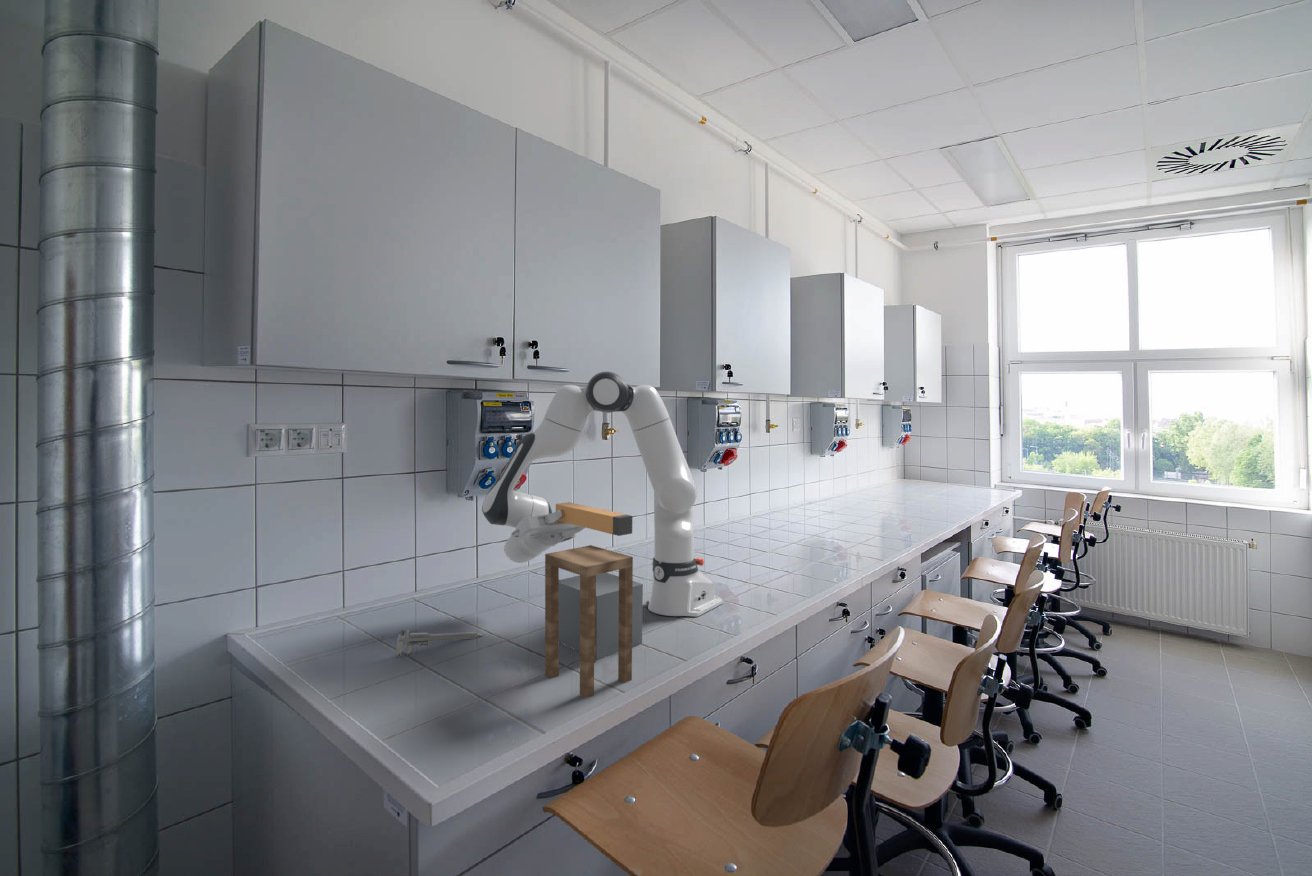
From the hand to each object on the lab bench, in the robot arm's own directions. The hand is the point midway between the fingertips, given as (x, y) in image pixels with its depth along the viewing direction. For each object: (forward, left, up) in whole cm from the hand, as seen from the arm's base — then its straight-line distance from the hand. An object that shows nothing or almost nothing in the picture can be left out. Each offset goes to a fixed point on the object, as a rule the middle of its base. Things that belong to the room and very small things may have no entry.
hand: (571, 511), depth 155 cm
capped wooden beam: (0, +8, -2) cm, 9 cm away
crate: (-2, +8, -31) cm, 32 cm away
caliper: (+27, -15, -31) cm, 44 cm away
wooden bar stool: (+12, +22, -31) cm, 40 cm away
